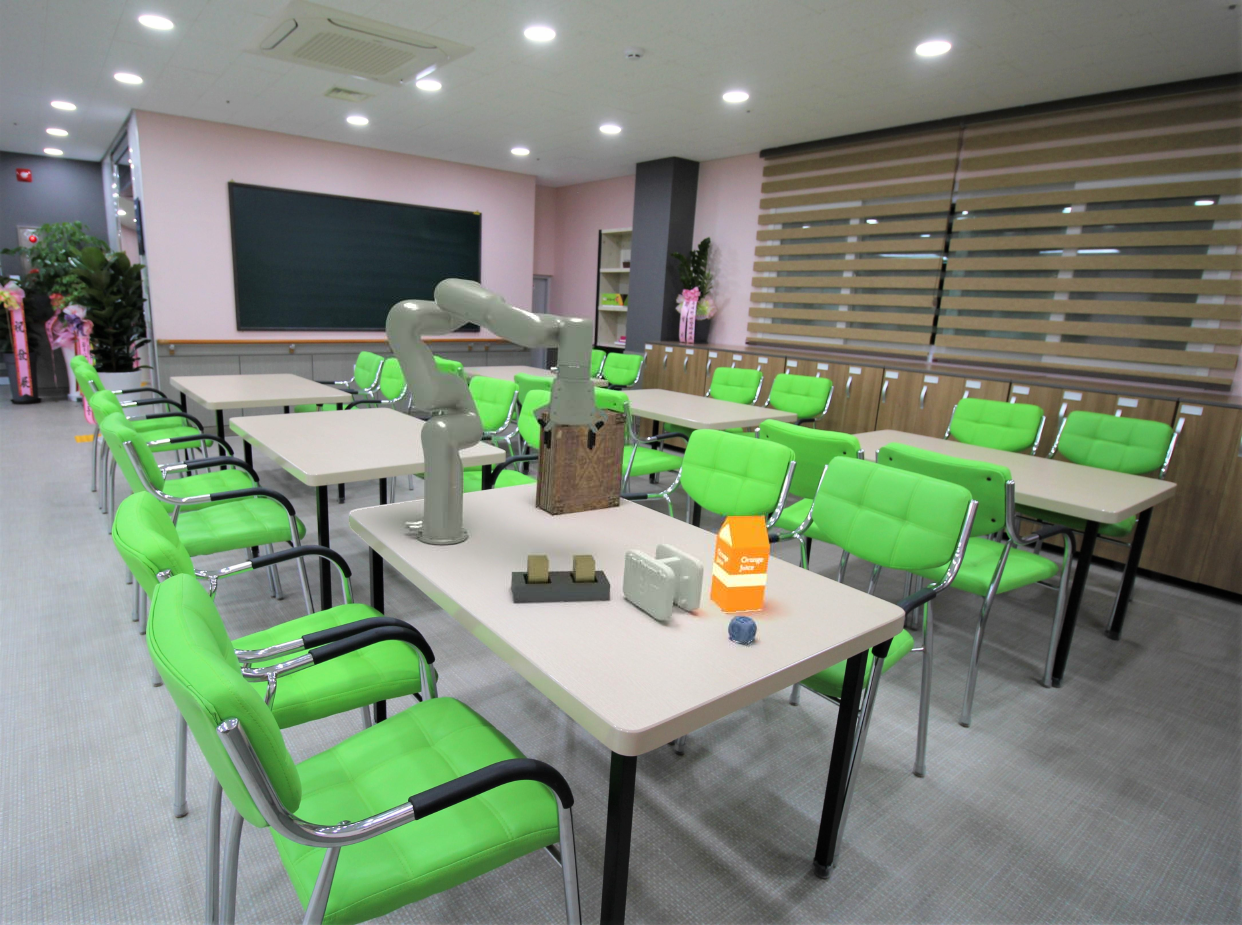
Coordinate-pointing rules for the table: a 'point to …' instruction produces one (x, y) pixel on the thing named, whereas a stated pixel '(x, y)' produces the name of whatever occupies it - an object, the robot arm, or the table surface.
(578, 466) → the book
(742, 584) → the orange juice
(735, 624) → the decorative dice
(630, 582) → the cable organizer
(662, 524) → the table surface
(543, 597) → the peg holder block
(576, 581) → the brass square peg
